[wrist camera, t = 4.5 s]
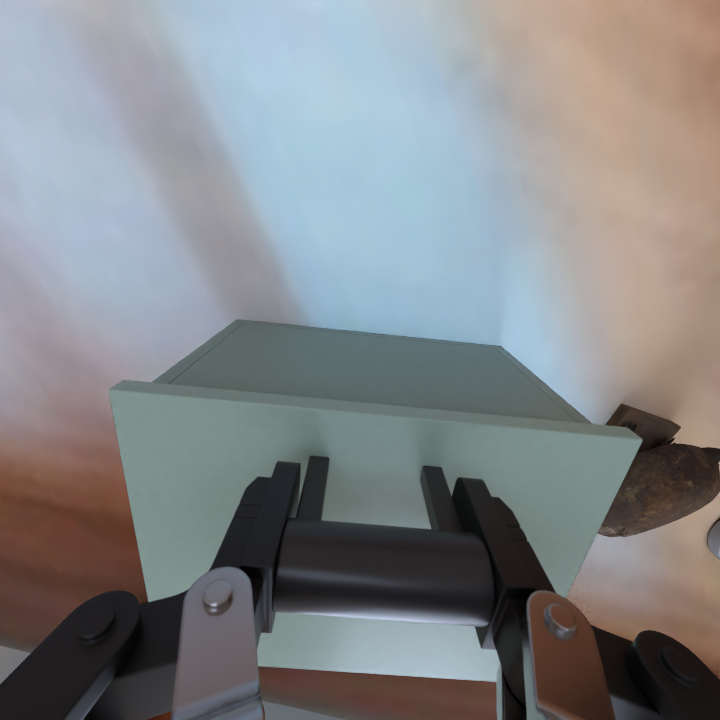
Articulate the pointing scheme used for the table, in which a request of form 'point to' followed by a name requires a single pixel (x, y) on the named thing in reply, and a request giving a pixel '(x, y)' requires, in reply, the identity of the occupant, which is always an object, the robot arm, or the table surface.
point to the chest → (369, 370)
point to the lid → (362, 514)
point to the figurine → (659, 477)
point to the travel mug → (715, 540)
